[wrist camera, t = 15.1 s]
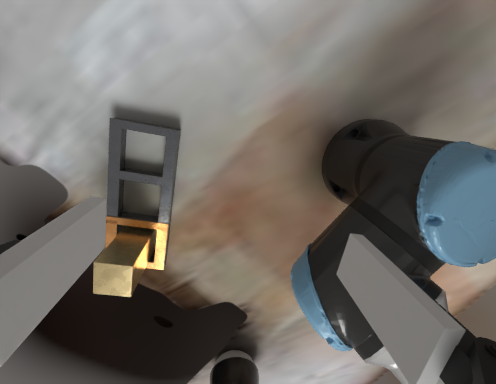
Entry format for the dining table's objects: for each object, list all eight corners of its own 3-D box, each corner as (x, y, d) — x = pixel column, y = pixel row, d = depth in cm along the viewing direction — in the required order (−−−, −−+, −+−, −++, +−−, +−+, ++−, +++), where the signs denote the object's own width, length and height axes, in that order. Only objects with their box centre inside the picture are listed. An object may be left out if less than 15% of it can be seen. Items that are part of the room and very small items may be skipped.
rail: (180, 129, 41) (178, 130, 39) (165, 262, 48) (163, 269, 46) (115, 117, 40) (109, 118, 38) (110, 256, 47) (105, 263, 45)
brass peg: (155, 227, 46) (132, 266, 35) (153, 251, 48) (130, 296, 36) (126, 223, 45) (93, 262, 34) (125, 248, 47) (93, 293, 36)
